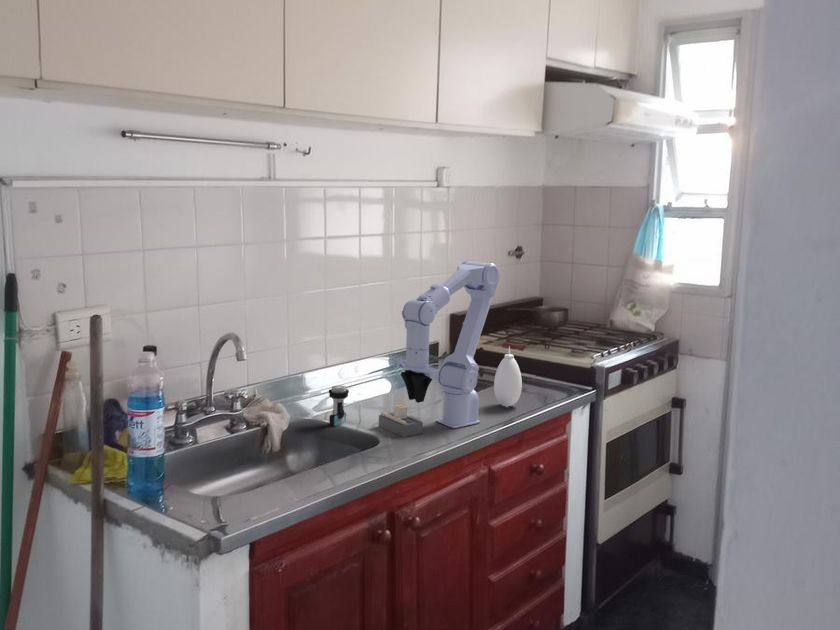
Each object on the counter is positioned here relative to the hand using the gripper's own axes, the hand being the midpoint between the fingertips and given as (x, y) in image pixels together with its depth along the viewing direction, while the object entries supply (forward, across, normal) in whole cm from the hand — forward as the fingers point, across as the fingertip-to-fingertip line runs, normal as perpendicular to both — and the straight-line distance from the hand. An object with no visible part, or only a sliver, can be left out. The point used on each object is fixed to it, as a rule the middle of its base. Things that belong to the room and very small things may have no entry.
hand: (416, 400), depth 206 cm
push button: (+10, -20, -10) cm, 24 cm away
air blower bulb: (+10, -7, +39) cm, 41 cm away
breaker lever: (+6, -6, 0) cm, 9 cm away
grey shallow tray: (+9, -6, 0) cm, 11 cm away
